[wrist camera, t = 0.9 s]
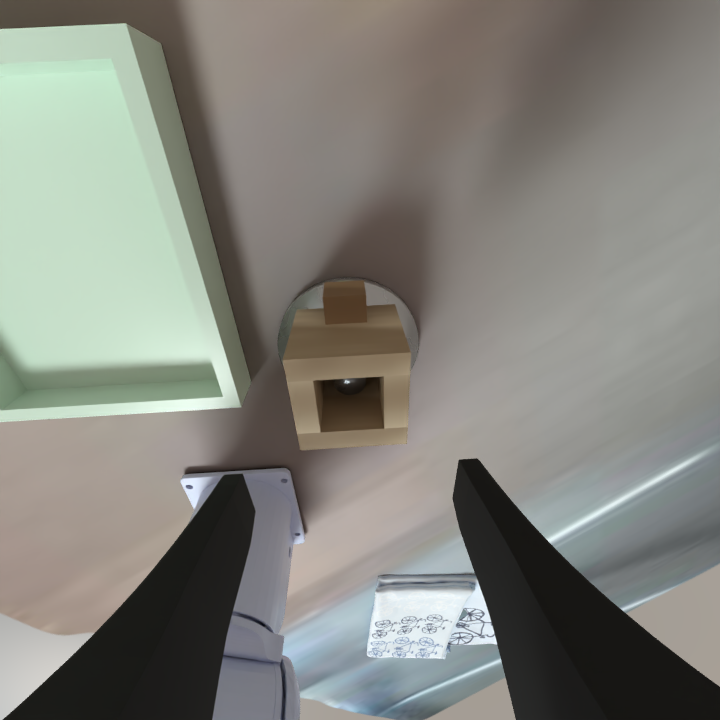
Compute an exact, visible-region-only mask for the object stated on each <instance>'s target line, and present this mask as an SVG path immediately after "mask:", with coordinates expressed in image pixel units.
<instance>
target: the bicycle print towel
mask: <svg viewBox="0 0 720 720" xmlns="http://www.w3.org/2000/svg"><path fill="white" fill-rule="evenodd" d="M463 608H464V610H466V612H467V616H466V617H463V618H462V619H460V620H458V619H459V617H460V615H461V612H462V610H463ZM488 643H492V644H497V641H496V637H495V634H494V630H493V626H492V622H491V619H490V615H489V612H488V609H487V606H486V603H485V600H484V597H483V594H482V591H481V589H480V586H479V583H478V580H477V577H476V575H387V576H378V583H377V589H376V591H375V600H374V607H373V613H372V617H371V623H370V632H369V638H368V645H367V656H369V657H378V658H384V657H399V658H440V659H441V658H443V659H445V657H446V654H447V652H449V653H450V645H473V644H488Z"/></svg>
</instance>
